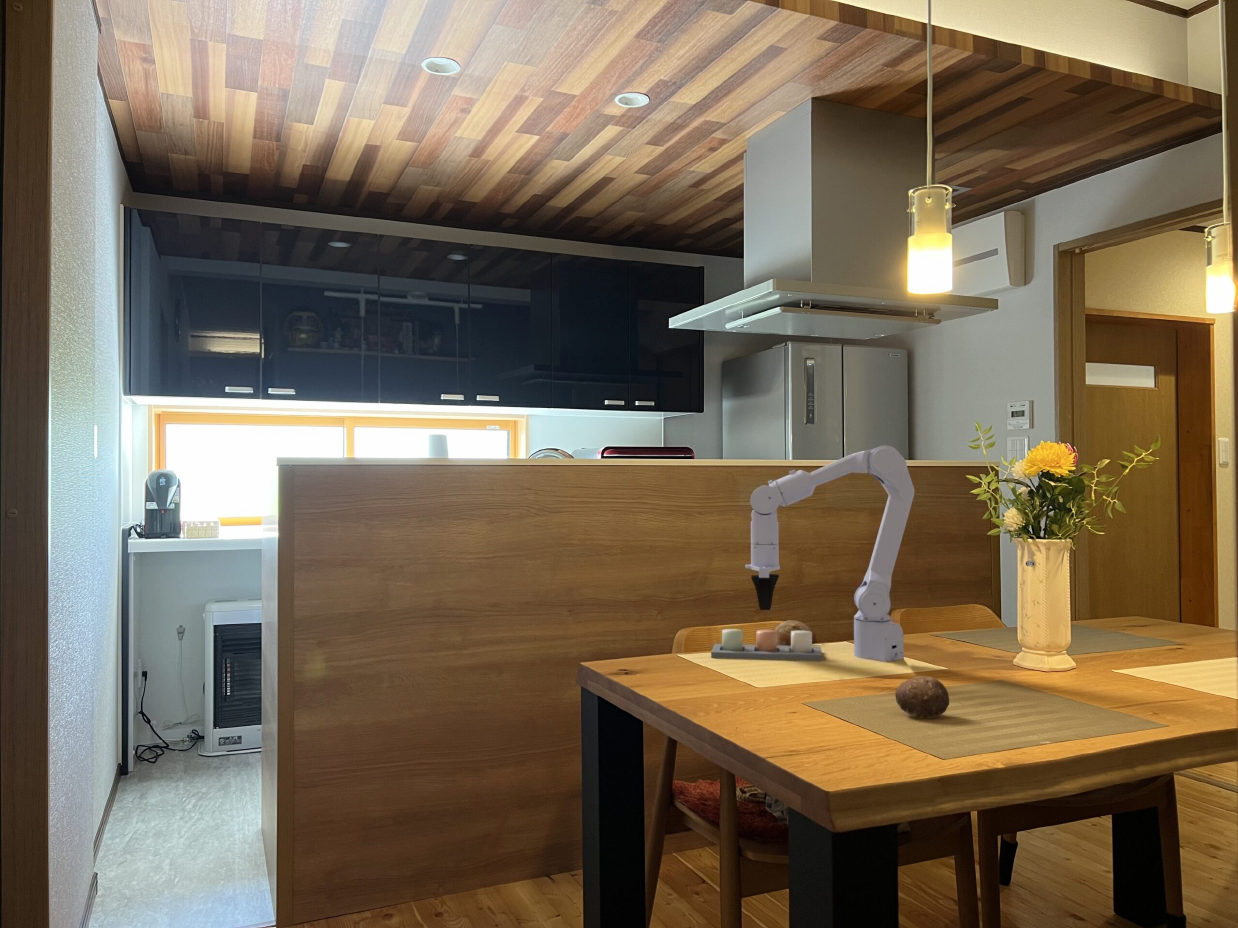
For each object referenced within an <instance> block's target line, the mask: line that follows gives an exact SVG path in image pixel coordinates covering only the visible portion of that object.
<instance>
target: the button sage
mask: <svg viewBox="0 0 1238 928" xmlns="http://www.w3.org/2000/svg"><path fill="white" fill-rule="evenodd" d="M743 633H744V632H743V630H742V629H740V628H725V629H722V630H721V644H722V650H730V651H743V645H744V644H743V640H744V639H743V638H744V637H743V636H744V635H743Z"/></svg>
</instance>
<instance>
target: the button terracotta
mask: <svg viewBox="0 0 1238 928" xmlns="http://www.w3.org/2000/svg"><path fill="white" fill-rule="evenodd" d="M755 633H756V634H755V635H756V637H755V639H756V641H755V642H756V643H755V645H756V651H766V652H777V646H778V643H777V631H775V629H758V630H756V632H755Z"/></svg>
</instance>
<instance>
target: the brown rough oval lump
mask: <svg viewBox="0 0 1238 928" xmlns="http://www.w3.org/2000/svg"><path fill="white" fill-rule="evenodd" d="M894 695H895V696H894V697H895V701H896V704H897V705H898V706H899V708H900V709H901V711H902V712H904V713H905V714H907V715H909V716H911V717H915V718H916V719H933V718H937V717H939V716H941V715H943V714H944V713H946V711H947V709H948V707H949V705H950V696H949V692H948V690H947V689H946V687H945V685H944V684H943V683H942V682H941V681H939V679H938V678H936V677H932V676H927V675H925V676H923V675H922V676H915V677H913V678H912V677H911V678H910V679H907V680H905V681H903V682H901V683H900V684H899V685H898V686H897V688H896V690H895V692H894Z"/></svg>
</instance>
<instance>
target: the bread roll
mask: <svg viewBox="0 0 1238 928" xmlns="http://www.w3.org/2000/svg"><path fill="white" fill-rule="evenodd" d="M774 630H775V631H777V645H780V646H791V631H810V632H812V645H814V644H816V643H817V642H818V639H817V637H816V636H817V635H816V633H815V632H814V631H813V629H812V628H811V627H810V626H809V625H808V624H806V623H805V622H802V621H800V620H790V619H789V620H785V621H783V622H781V623H779V624H778V625H776V627H775V628H774Z"/></svg>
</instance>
